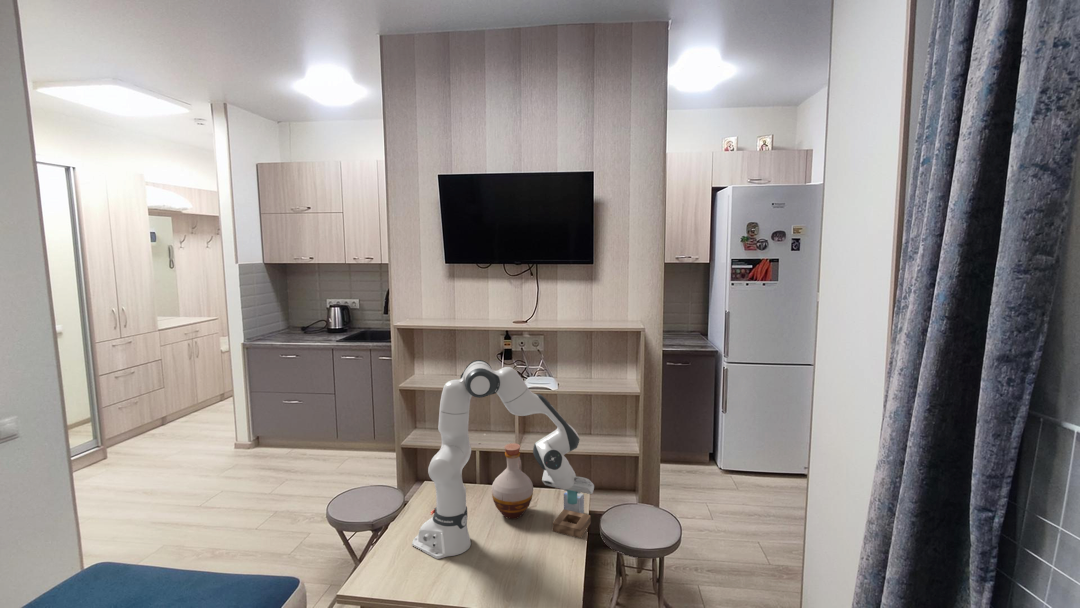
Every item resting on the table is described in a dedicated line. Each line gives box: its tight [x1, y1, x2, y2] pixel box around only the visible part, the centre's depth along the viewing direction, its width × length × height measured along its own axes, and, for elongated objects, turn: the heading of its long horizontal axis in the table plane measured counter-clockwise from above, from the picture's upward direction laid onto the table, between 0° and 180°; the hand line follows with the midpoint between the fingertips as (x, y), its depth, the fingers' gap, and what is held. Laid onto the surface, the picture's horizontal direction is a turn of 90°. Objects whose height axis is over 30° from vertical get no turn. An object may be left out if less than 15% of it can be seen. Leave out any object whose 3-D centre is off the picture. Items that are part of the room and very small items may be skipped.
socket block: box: [552, 508, 592, 539], centre depth 192 cm, size 12×12×4 cm
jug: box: [491, 442, 534, 520], centre depth 202 cm, size 20×18×30 cm
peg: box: [567, 490, 577, 504], centre depth 191 cm, size 4×4×8 cm
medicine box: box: [563, 491, 585, 514], centre depth 203 cm, size 8×4×9 cm, turn 58°
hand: (572, 490), depth 191 cm, fingers closed on peg, 4 cm apart
